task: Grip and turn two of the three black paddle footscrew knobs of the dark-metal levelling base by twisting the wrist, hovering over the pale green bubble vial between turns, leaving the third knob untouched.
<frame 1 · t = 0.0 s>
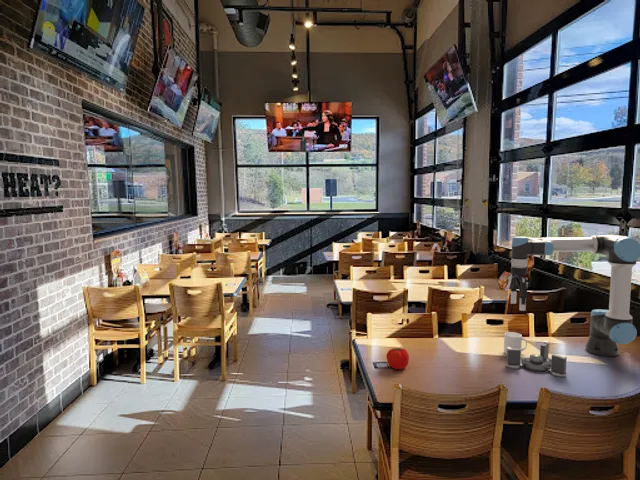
hand: (517, 306, 225), 28 cm above the table, fingers open, 13 cm apart
tribrach: (536, 367, 217), on the table
knob b: (558, 363, 207), point 6 cm above the table, hinge at 0.0°
mug: (515, 353, 235), on the table
knob a: (513, 355, 218), point 6 cm above the table, hinge at 0.0°
tomato: (397, 367, 220), on the table
knob c: (544, 350, 224), point 6 cm above the table, hinge at 0.0°
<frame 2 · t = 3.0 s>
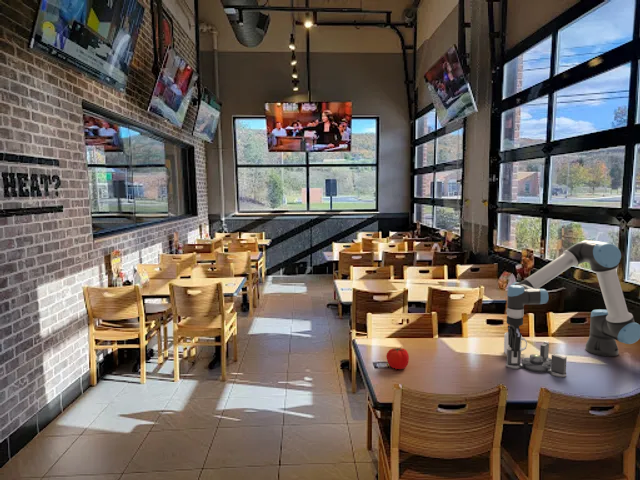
hand: (513, 361, 218), 2 cm above the table, fingers closed on knob a, 2 cm apart
knob a: (513, 355, 218), point 6 cm above the table, hinge at 0.0°, touching gripper
everything else where it was.
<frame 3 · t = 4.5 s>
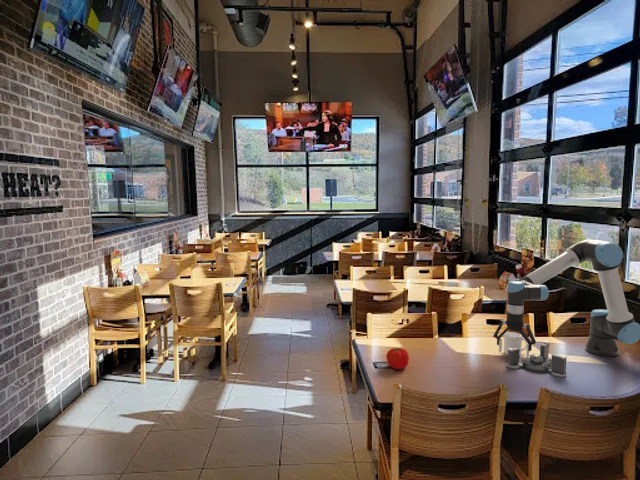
hand: (513, 354, 218), 6 cm above the table, fingers open, 12 cm apart
knob a: (513, 355, 218), point 6 cm above the table, hinge at 34.9°
everything else where it was.
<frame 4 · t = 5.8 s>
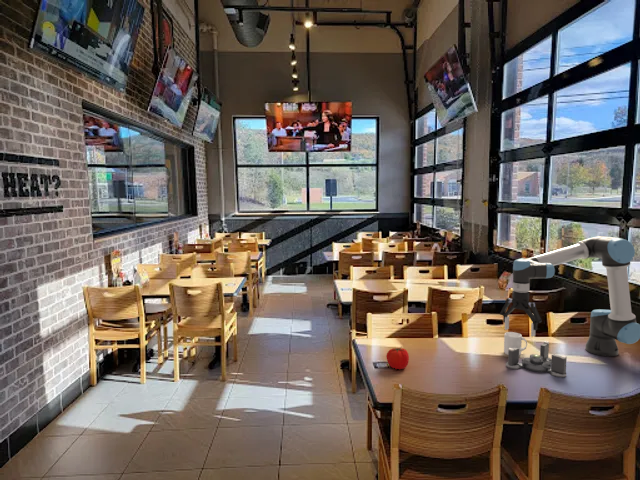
hand: (519, 332, 216), 18 cm above the table, fingers open, 13 cm apart
knob a: (513, 355, 218), point 6 cm above the table, hinge at 39.8°
everything else where it was.
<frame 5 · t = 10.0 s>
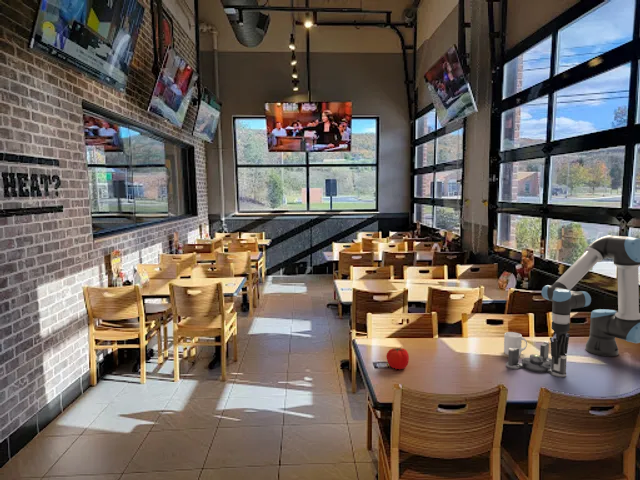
hand: (558, 369, 208), 2 cm above the table, fingers closed on knob b, 2 cm apart
knob b: (558, 363, 207), point 6 cm above the table, hinge at -0.2°, touching gripper
knob a: (513, 355, 218), point 6 cm above the table, hinge at 40.9°
everything else where it was.
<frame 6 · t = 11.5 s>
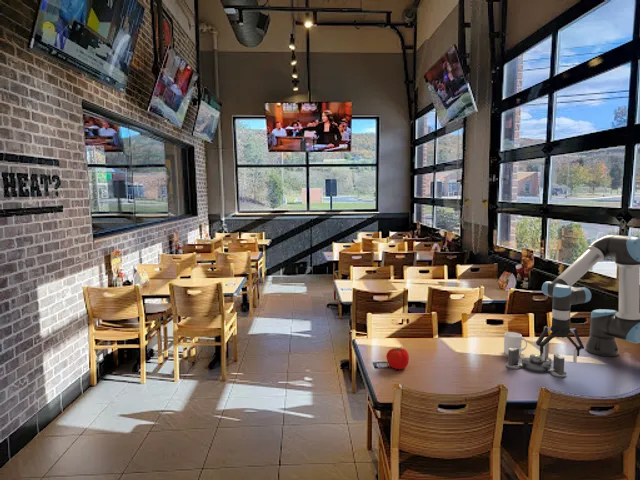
hand: (558, 361, 207), 7 cm above the table, fingers open, 13 cm apart
knob b: (558, 363, 207), point 6 cm above the table, hinge at -36.1°
everything else where it was.
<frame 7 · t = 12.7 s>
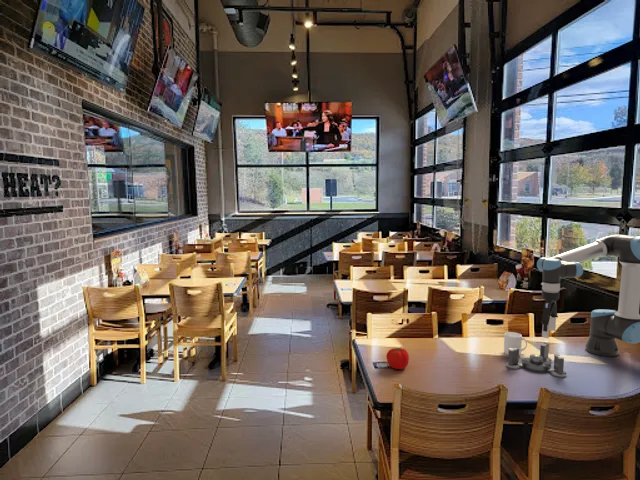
hand: (548, 333, 210), 19 cm above the table, fingers open, 13 cm apart
knob b: (558, 363, 207), point 6 cm above the table, hinge at -41.5°
everything else where it was.
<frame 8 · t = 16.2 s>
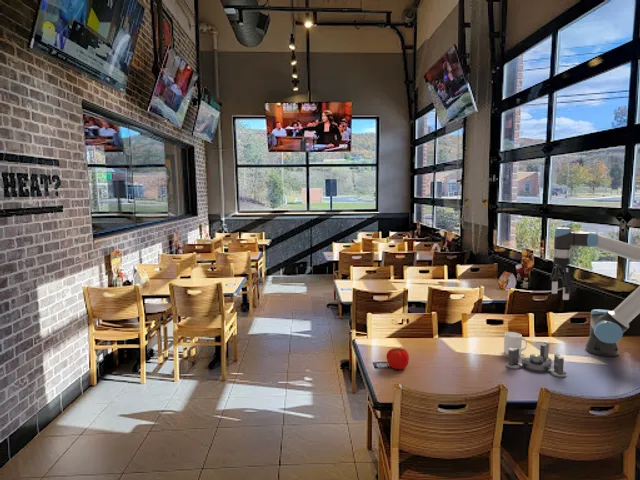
hand: (559, 296, 230), 32 cm above the table, fingers open, 13 cm apart
knob b: (558, 363, 207), point 6 cm above the table, hinge at -42.9°
everything else where it was.
at the end: knob a at +41° (first picture: +0°); knob b at -43° (first picture: +0°); knob c at +0° (first picture: +0°) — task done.
